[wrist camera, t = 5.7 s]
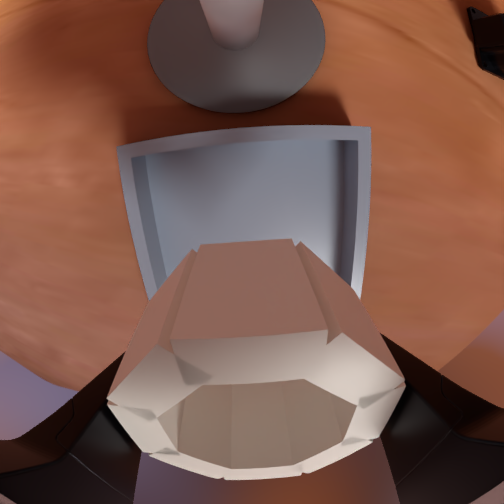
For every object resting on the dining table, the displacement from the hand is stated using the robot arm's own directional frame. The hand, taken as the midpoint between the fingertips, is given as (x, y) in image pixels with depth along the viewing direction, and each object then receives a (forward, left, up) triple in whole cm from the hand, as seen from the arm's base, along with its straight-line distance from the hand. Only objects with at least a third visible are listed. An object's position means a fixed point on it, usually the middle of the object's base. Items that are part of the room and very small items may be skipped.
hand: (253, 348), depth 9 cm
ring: (0, 0, -1) cm, 1 cm away
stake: (0, -13, -11) cm, 17 cm away
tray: (0, 0, -11) cm, 11 cm away
